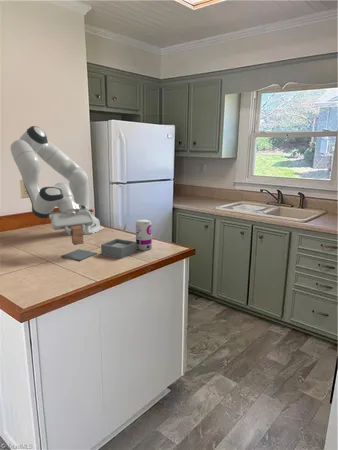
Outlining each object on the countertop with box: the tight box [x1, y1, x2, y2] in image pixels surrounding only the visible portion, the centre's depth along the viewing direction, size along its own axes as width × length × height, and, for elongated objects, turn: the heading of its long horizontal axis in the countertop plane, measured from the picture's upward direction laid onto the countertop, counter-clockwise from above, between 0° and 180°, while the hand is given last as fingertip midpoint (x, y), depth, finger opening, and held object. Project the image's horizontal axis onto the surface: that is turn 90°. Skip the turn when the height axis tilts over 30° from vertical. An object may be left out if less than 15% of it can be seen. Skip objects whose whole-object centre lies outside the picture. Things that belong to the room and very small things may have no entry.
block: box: [71, 226, 84, 246], centre depth 161 cm, size 4×4×8 cm
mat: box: [60, 248, 98, 262], centre depth 163 cm, size 12×12×1 cm
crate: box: [100, 238, 138, 259], centre depth 167 cm, size 13×13×6 cm
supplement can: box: [135, 218, 153, 251], centre depth 174 cm, size 8×8×15 cm
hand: (77, 234), depth 161 cm, fingers closed on block, 5 cm apart
